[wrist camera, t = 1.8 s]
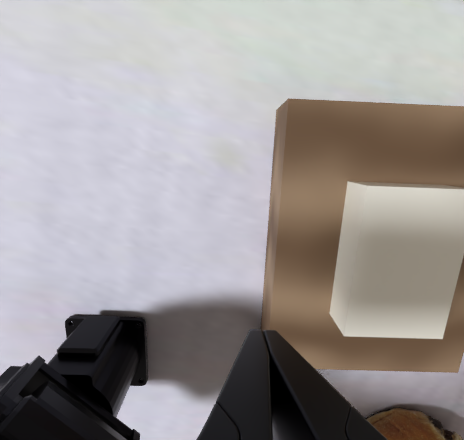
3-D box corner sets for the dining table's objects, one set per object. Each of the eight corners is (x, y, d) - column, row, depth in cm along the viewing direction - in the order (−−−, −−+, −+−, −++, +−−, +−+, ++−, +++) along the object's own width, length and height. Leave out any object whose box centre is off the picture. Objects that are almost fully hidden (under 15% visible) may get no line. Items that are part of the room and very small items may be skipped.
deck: (420, 336, 24) (457, 372, 20) (260, 332, 23) (266, 367, 20) (470, 118, 20) (530, 109, 16) (276, 110, 19) (288, 98, 15)
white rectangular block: (415, 316, 19) (442, 339, 16) (329, 313, 19) (343, 336, 16) (444, 185, 17) (480, 190, 14) (347, 181, 16) (367, 185, 14)
